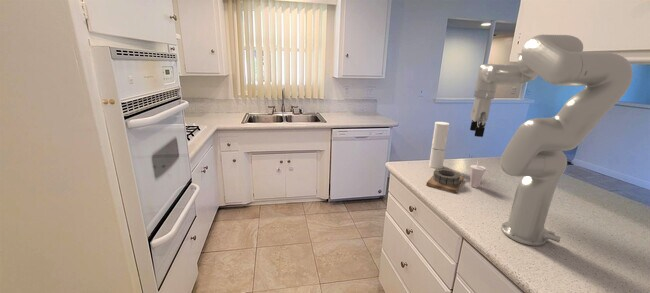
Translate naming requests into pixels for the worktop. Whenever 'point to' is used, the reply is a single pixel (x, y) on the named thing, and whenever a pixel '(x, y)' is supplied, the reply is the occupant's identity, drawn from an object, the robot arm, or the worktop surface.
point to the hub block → (445, 180)
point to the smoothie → (476, 175)
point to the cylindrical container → (439, 144)
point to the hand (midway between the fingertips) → (476, 133)
